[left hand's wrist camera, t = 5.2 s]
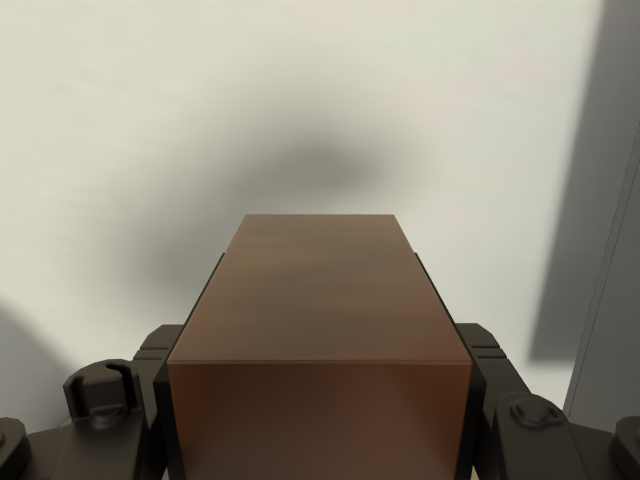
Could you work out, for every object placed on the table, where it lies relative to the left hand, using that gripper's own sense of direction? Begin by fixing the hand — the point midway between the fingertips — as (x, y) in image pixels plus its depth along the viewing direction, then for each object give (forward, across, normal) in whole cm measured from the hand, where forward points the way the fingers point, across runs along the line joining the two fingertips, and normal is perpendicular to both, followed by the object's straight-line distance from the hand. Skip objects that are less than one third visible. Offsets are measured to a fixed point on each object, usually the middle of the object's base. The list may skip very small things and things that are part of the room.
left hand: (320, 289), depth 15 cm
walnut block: (+1, 0, 0) cm, 1 cm away
